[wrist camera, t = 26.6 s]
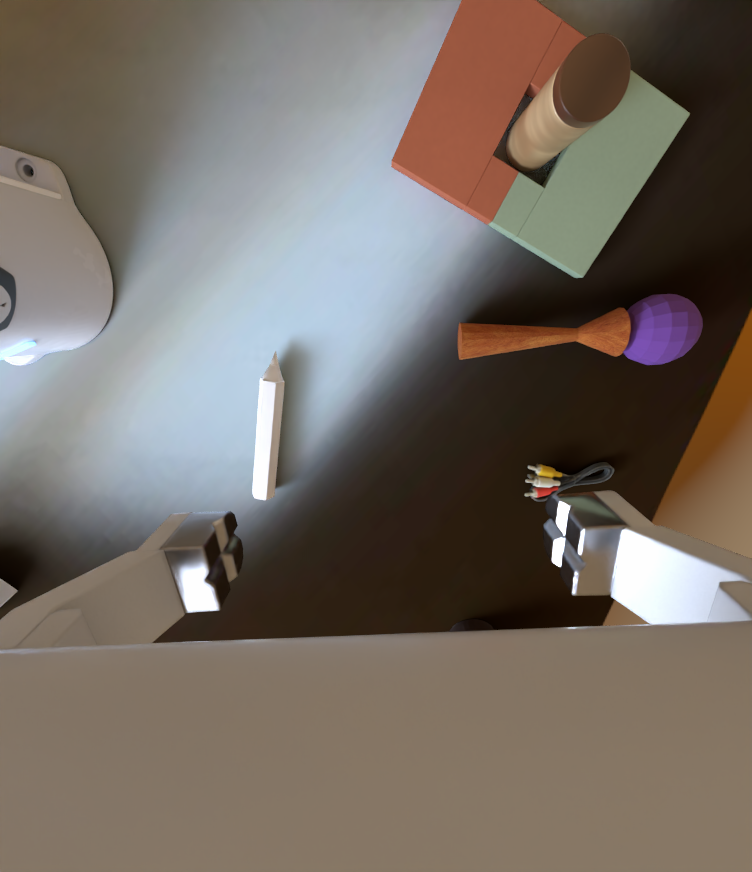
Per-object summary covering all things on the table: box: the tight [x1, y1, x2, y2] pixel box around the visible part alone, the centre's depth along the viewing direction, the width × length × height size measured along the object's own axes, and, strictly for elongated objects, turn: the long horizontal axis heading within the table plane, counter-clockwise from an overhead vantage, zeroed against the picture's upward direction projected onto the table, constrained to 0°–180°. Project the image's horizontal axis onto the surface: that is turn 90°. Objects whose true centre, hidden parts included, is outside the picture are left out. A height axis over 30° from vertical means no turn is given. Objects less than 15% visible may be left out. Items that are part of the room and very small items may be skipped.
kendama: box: [458, 294, 703, 365], centre depth 34 cm, size 6×6×20 cm
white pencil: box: [252, 351, 285, 500], centre depth 39 cm, size 3×2×16 cm
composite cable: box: [525, 462, 614, 501], centre depth 41 cm, size 10×5×2 cm, turn 90°
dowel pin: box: [506, 33, 631, 172], centre depth 26 cm, size 4×4×10 cm
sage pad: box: [488, 70, 690, 278], centre depth 31 cm, size 10×13×2 cm
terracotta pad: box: [391, 0, 587, 224], centre depth 29 cm, size 10×13×2 cm
